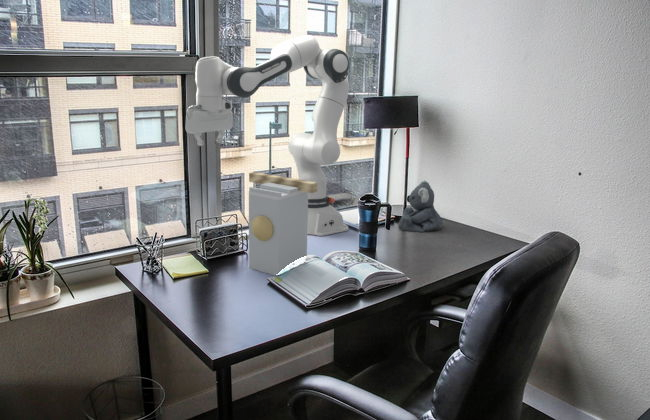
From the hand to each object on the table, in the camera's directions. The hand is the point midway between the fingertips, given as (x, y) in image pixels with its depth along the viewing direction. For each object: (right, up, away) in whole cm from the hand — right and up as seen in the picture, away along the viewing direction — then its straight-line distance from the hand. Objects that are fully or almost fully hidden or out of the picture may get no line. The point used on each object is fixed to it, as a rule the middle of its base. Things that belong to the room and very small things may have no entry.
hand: (210, 144), depth 191 cm
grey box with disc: (+25, -42, -10) cm, 50 cm away
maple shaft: (+26, -16, -12) cm, 33 cm away
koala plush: (+82, -31, +39) cm, 95 cm away
